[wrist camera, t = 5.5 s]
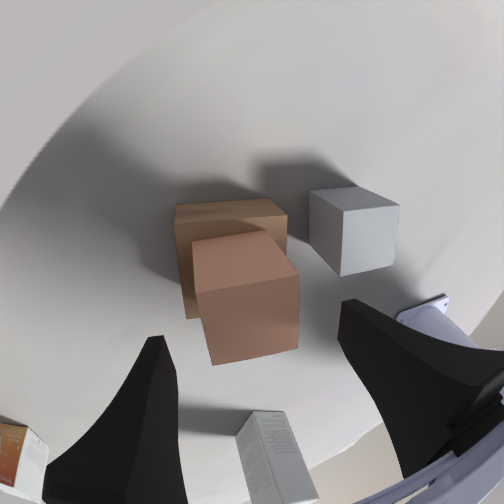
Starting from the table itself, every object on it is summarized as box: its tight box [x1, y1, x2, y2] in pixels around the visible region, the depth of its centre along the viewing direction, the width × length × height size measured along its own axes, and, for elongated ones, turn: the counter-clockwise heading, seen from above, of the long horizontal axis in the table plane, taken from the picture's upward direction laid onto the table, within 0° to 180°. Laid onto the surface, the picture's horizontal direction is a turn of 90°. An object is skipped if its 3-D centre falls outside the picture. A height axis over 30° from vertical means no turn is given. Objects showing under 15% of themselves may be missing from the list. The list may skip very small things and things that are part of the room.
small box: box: [0, 423, 50, 504], centre depth 20 cm, size 8×6×10 cm
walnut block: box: [174, 198, 288, 319], centre depth 18 cm, size 6×6×4 cm
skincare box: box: [235, 411, 319, 504], centre depth 24 cm, size 6×4×12 cm
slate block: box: [309, 186, 400, 277], centre depth 18 cm, size 4×4×5 cm
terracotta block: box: [192, 230, 299, 366], centre depth 14 cm, size 4×4×5 cm
